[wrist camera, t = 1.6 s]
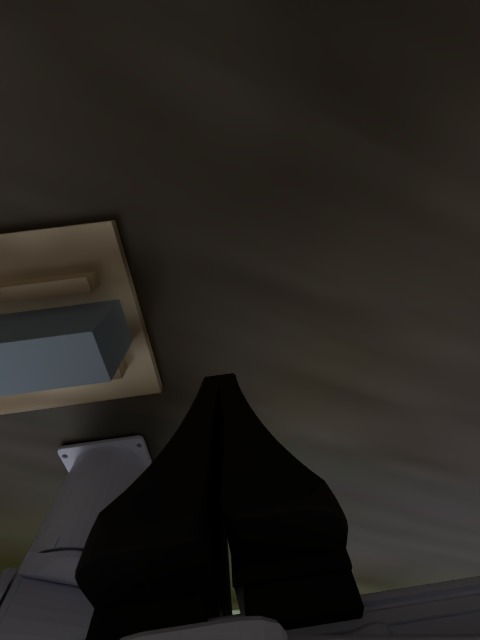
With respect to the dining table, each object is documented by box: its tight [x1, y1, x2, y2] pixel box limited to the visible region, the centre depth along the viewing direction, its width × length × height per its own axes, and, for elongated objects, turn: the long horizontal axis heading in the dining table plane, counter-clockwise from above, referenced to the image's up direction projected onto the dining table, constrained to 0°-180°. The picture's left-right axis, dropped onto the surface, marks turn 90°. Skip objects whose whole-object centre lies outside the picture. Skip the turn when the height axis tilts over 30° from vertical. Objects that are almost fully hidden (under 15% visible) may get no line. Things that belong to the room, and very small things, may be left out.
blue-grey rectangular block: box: [0, 299, 133, 397], centre depth 19 cm, size 4×10×5 cm, turn 96°
